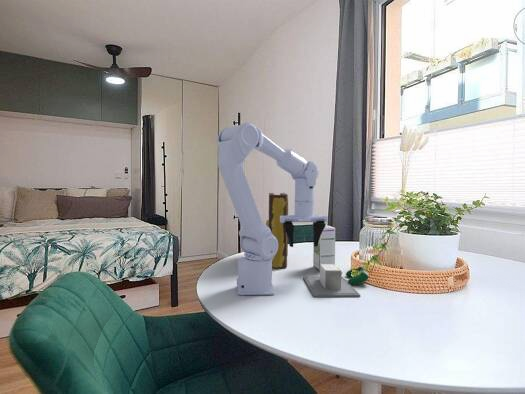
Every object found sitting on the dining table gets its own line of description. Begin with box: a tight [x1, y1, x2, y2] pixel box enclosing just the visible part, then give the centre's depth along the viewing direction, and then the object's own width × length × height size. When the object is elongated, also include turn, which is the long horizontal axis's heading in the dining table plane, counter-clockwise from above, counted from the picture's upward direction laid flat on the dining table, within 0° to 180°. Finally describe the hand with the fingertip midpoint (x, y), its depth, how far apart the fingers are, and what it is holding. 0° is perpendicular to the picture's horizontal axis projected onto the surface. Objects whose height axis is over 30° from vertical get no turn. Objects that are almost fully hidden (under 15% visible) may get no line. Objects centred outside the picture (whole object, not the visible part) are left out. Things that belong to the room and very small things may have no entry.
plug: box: [319, 264, 342, 290], centre depth 85 cm, size 4×9×5 cm, turn 3°
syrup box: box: [312, 225, 336, 272], centre depth 102 cm, size 6×6×14 cm
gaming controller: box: [345, 264, 370, 286], centre depth 90 cm, size 9×4×6 cm
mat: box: [302, 276, 361, 298], centre depth 84 cm, size 12×15×1 cm
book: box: [265, 192, 289, 270], centre depth 112 cm, size 22×8×25 cm, turn 179°
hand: (303, 245), depth 92 cm, fingers open, 7 cm apart
